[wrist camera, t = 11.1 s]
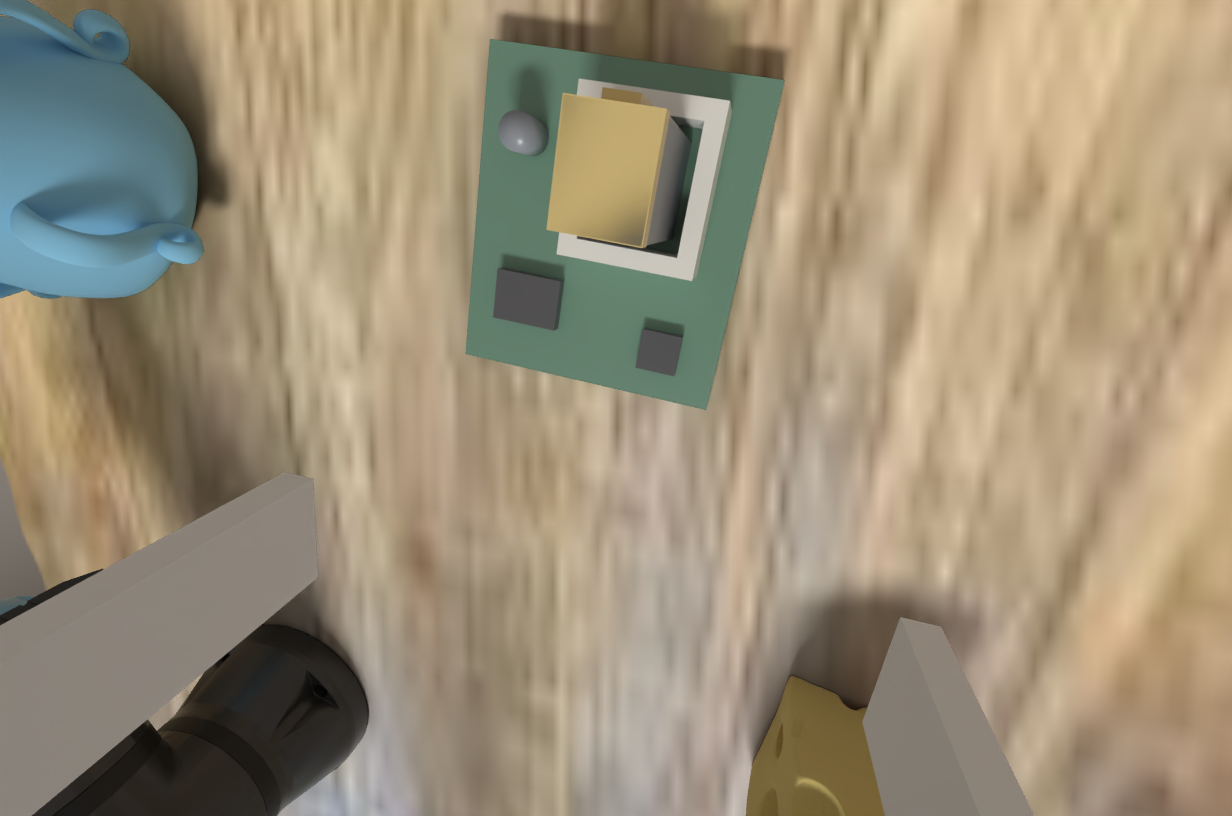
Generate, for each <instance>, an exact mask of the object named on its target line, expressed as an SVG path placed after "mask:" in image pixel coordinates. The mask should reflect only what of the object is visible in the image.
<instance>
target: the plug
mask: <svg viewBox="0 0 1232 816" xmlns="http://www.w3.org/2000/svg"><path fill="white" fill-rule="evenodd" d="M691 144H692V143H691V142H690V140H689V139H688V138H687V137H686V135H685V134H684V133H683V132H682V130H681V129H680V128H679V127H678V125H677V124H676V123H675V122H674V120H673V119H672V118H671V116H670V112H669V111H668V109H666V108H660V107H654V106H653V105H652V104H651V103H650V102H649V100H648V99H647V98H646V97H645V96H644V95H643V94H642V93H640V92H633V91H626V90H619V89H613V88H606V87H602V94H601V98H594V97H588V96H581V95H574V94H568V93H563V95H562V103H561V112H560V120H559V128H558V137H557V145H556V154H555V162H554V170H553V179H552V187H551V195H550V204H549V212H548V221H547V229H546V230H550V231H555V232H561V233H566V234H571V235H576V236H581V237H586V238H592V239H597V240H602V241H607V242H612V243H618V244H623V245H628V246H633V247H638V248H645V247H646V246H647V245H650V244H654V243H658V242H662V241H666V240H671V239H673V236H674V231H675V226H676V221H677V216H678V210H679V205H680V200H681V195H682V190H683V185H684V180H685V174H686V169H687V164H688V159H689V154H690V149H691Z"/></svg>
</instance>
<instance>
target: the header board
mask: <svg viewBox="0 0 1232 816" xmlns="http://www.w3.org/2000/svg"><path fill="white" fill-rule="evenodd" d="M784 81H785V80H780V79H772V78H765V77H758V76H751V75H744V74H737V73H730V72H722V71H715V70H708V69H701V68H694V67H687V66H679V65H672V64H665V63H658V62H651V61H644V60H637V59H629V58H622V57H615V56H608V55H601V54H594V53H587V52H579V51H572V50H565V49H558V48H551V47H544V46H537V45H529V44H522V43H515V42H508V41H501V40H494V39H490V46H489V59H488V72H487V85H486V98H485V111H484V124H483V137H482V149H481V162H480V175H479V188H478V201H477V214H476V227H475V240H474V253H473V265H472V278H471V291H470V304H469V317H468V330H467V343H466V354H468V355H472V356H477V357H481V358H485V359H490V360H494V361H498V362H502V363H507V364H511V365H515V366H520V367H524V368H528V369H533V370H537V371H541V372H545V373H550V374H554V375H558V376H563V377H567V378H571V379H575V380H580V381H584V382H588V383H593V384H597V385H601V386H605V387H610V388H614V389H618V390H623V391H627V392H631V393H635V394H640V395H644V396H648V397H653V398H657V399H661V400H666V401H670V402H674V403H678V404H683V405H687V406H691V407H696V408H700V409H704V410H706V408H707V404H708V400H709V396H710V392H711V387H712V383H713V379H714V375H715V371H716V366H717V362H718V358H719V354H720V350H721V345H722V341H723V337H724V333H725V329H726V324H727V320H728V316H729V312H730V308H731V303H732V299H733V295H734V291H735V287H736V282H737V278H738V274H739V270H740V266H741V261H742V257H743V253H744V249H745V245H746V240H747V236H748V232H749V228H750V224H751V219H752V215H753V211H754V207H755V203H756V198H757V194H758V190H759V186H760V182H761V177H762V173H763V169H764V165H765V161H766V156H767V152H768V148H769V144H770V140H771V135H772V131H773V127H774V123H775V119H776V114H777V110H778V106H779V102H780V98H781V93H782V89H783V85H784ZM602 87H606V88H613V89H619V90H626V91H633V92H640V93H642V94H643V95H644V96H645V97H646V98H647V99H648V100H649V102H650V103H651V104H652V105H653V106H654V107H660V108H666V109H668V111H669V112H670V116H671V118H672V119H673V120H674V122H675V123H676V124H677V125H678V127H679V128H680V129H681V130H682V132H683V133H684V134H685V135H686V137H687V138H688V139H689V140H690V142H691V143H692V144H691V149H690V154H689V159H688V164H687V169H686V174H685V180H684V185H683V190H682V195H681V200H680V205H679V210H678V216H677V221H676V226H675V231H674V236H673V239H671V240H666V241H662V242H658V243H654V244H650V245H647V246H646V247H645V248H638V247H633V246H628V245H623V244H618V243H612V242H607V241H602V240H597V239H592V238H586V237H581V236H576V235H571V234H566V233H561V232H555V231H550V230H546V229H547V221H548V212H549V204H550V195H551V187H552V179H553V170H554V162H555V154H556V145H557V137H558V128H559V120H560V112H561V103H562V95H563V93H568V94H574V95H581V96H588V97H594V98H601V94H602Z"/></svg>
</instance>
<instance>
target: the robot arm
mask: <svg viewBox="0 0 1232 816" xmlns="http://www.w3.org/2000/svg"><path fill="white" fill-rule="evenodd" d="M317 578H318V565H317V545H316V525H315V505H314V484H313V479H312V478H308V477H303V476H299V475H295V474H291V473H286V472H284V473H282V474H280V475H278V476H276V477H274V478H272V479H271V480H269V481H267V482H265V483H263V484H261V485H259V486H258V487H256V488H254V489H252V490H250V491H248V492H247V493H245V494H243V495H241V496H239V497H237V498H235V499H234V500H232V501H230V502H228V503H226V504H224V505H222V506H221V507H219V508H217V509H215V510H213V511H211V512H209V513H208V514H206V515H204V516H202V517H200V518H198V519H197V520H195V521H193V522H191V523H189V524H187V525H185V526H184V527H182V528H180V529H178V530H176V531H174V532H172V533H171V534H169V535H167V536H165V537H163V538H161V539H159V540H158V541H156V542H154V543H152V544H150V545H148V546H147V547H145V548H143V549H141V550H139V551H137V552H135V553H134V554H132V555H130V556H128V557H126V558H124V559H122V560H121V561H119V562H117V563H115V564H113V565H111V566H109V567H108V568H106V569H100V570H97V571H94V572H91V573H88V574H86V575H83V576H80V577H77V578H74V579H71V580H68V581H65V582H62V583H60V584H58V585H57V586H55V587H53V588H51V589H49V590H47V591H45V592H43V593H41V594H39V595H38V596H30V595H28V596H16V597H12V598H7V599H4V600H1V601H0V816H277V815H278V814H279V813H280V811H281V810H282V809H283V808H284V807H286V806H287V805H288V804H289V803H291V802H292V801H294V800H295V799H296V798H298V797H299V796H300V795H302V794H303V793H304V792H306V791H307V790H308V789H310V788H311V787H312V786H314V785H315V784H316V783H318V782H319V781H320V780H321V779H323V778H324V777H325V776H327V775H328V774H329V773H330V772H332V771H333V770H335V769H336V768H338V767H339V766H340V765H341V764H342V763H343V762H344V761H345V760H346V759H347V758H348V757H349V755H350V754H351V753H352V751H353V750H354V749H355V747H356V746H357V745H358V743H359V742H360V741H361V739H362V738H363V736H364V734H365V731H366V728H367V723H368V711H367V704H366V701H365V697H364V694H363V692H362V690H361V687H360V685H359V683H358V682H357V680H356V678H355V677H354V675H353V674H352V672H351V671H350V670H349V668H348V667H347V666H346V665H345V664H344V663H343V661H342V660H341V659H340V658H339V657H338V656H337V655H336V654H334V653H333V652H332V651H331V650H330V649H328V648H327V647H326V646H325V645H323V644H322V643H320V642H319V641H317V640H316V639H314V638H312V637H310V636H308V635H306V634H304V633H302V632H299V631H297V630H294V629H291V628H287V627H283V626H275V625H263V626H260V625H262V624H263V623H264V622H265V621H266V620H268V619H269V618H270V617H271V616H272V615H274V614H275V613H276V612H277V611H278V610H280V609H281V608H282V607H283V606H284V605H286V604H287V603H288V602H289V601H290V600H292V599H293V598H294V597H295V596H296V595H298V594H299V593H300V592H301V591H302V590H304V589H305V588H306V587H307V586H308V585H310V584H311V583H312V582H313V581H314V580H316V579H317ZM203 673H204V674H203ZM201 674H203V675H202V677H201V678H200V679H199V681H198V682H197V684H196V685H195V687H194V688H193V690H192V691H191V693H190V694H189V696H188V697H187V698H186V700H185V701H184V703H183V704H182V706H181V707H180V709H179V710H178V712H177V713H176V714H175V715H174V716H173V717H172V718H171V719H170V720H169V721H168V722H167V723H166V724H164V725H163V726H162V727H161V728H160V729H159V730H157V731H156V729H155V728H154V727H153V726H152V724H151V723H150V722H149V720H148V718H150V717H151V716H152V715H153V714H154V713H156V712H157V711H158V710H159V709H160V708H162V707H163V706H164V705H165V704H167V703H168V702H169V701H170V700H171V699H173V698H174V697H175V696H176V695H177V694H179V693H180V692H181V691H182V690H183V689H185V688H186V687H187V686H188V685H189V684H191V683H192V682H193V681H194V680H195V679H197V678H198V677H199V676H200V675H201ZM862 722H863V727H864V731H865V735H866V739H867V743H868V747H869V751H870V756H871V760H872V764H873V768H874V772H875V776H876V780H877V785H878V789H879V793H880V797H881V801H882V805H883V809H884V814H885V816H1034V814H1033V812H1032V810H1031V808H1030V806H1029V804H1028V801H1027V799H1026V797H1025V795H1024V793H1023V791H1022V789H1021V787H1020V785H1019V783H1018V781H1017V779H1016V777H1015V775H1014V773H1013V771H1012V769H1011V767H1010V765H1009V763H1008V761H1007V759H1006V757H1005V755H1004V753H1003V751H1002V749H1001V747H1000V745H999V743H998V741H997V739H996V737H995V735H994V733H993V731H992V729H991V727H990V725H989V723H988V721H987V719H986V717H985V715H984V712H983V710H982V708H981V706H980V704H979V702H978V700H977V698H976V696H975V694H974V692H973V690H972V688H971V686H970V684H969V682H968V680H967V678H966V676H965V674H964V672H963V670H962V668H961V666H960V664H959V662H958V660H957V658H956V656H955V654H954V652H953V650H952V648H951V646H950V644H949V642H948V640H947V638H946V636H945V634H944V632H943V630H942V628H941V627H940V626H936V625H932V624H928V623H923V622H919V621H915V620H911V619H906V618H902V617H900V619H899V622H898V625H897V627H896V630H895V633H894V636H893V638H892V641H891V644H890V647H889V650H888V652H887V655H886V658H885V661H884V663H883V666H882V669H881V672H880V674H879V677H878V680H877V683H876V685H875V688H874V691H873V694H872V696H871V699H870V702H869V705H868V707H867V710H866V713H865V716H864V718H863V721H862Z"/></svg>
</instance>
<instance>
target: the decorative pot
mask: <svg viewBox="0 0 1232 816" xmlns="http://www.w3.org/2000/svg"><path fill="white" fill-rule="evenodd" d="M0 14H3V15H7V16H11V17H4V16H0V298H3V297H6V296H9V295H12V294H15V293H18V292H21V291H24V290H27V291H29V292H30V293H31V294H33V295H35V296H38V297H41V298H47V299H54V298H59V297H62V296H66V297H81V298H117V297H126V296H131V295H135V294H137V293H139V292H141V291H143V290H145V289H147V288H149V287H150V286H151V285H152V284H153V283H155V282H156V281H157V280H158V279H159V278H160V277H161V276H162V275H163V274H164V273H165V272H166V271H167V270H168V268H169V267H170V266H171V264H172V263H173V262H177V263H181V264H192V263H195V262H196V261H198V260H199V259H200V257H201V256H202V254H203V252H204V247H203V243H202V241H201V239H200V237H199V236H198V235H197V233H196V232H194V231H193V230H192V229H191V228H192V224H193V220H194V216H195V210H196V203H197V190H198V170H197V164H198V162H197V157H196V154H195V149H194V145H193V142H192V140H191V137H190V134H189V132H188V130H187V129H186V127H185V125H184V123H183V122H182V121H181V119H180V118H179V116H178V115H177V114H176V113H175V112H174V111H173V110H172V109H171V108H170V106H169V105H168V104H167V103H166V102H165V101H164V100H163V99H162V98H161V97H160V96H159V95H158V94H157V93H156V92H155V91H154V90H153V89H151V88H150V87H149V86H148V85H147V84H146V83H145V82H144V81H142V80H141V79H140V78H139V77H138V76H137V75H136V74H135V73H133V72H132V71H131V70H130V69H129V68H127V67H126V66H125V65H124V64H122V63H123V62H124V61H126V59H127V58H128V56H129V52H130V44H129V39H128V36H127V34H126V32H125V30H124V28H123V27H122V26H121V25H120V24H119V22H118V21H117V20H115V19H114V18H113V17H111V16H109V15H108V14H106V13H103V12H101V11H98V10H84V11H81V12H80V13H79V14H78V15H76V17H75V19H74V30H72V29H70V28H69V27H67V26H66V25H64V24H63V23H62V22H60V21H59V20H57V19H56V18H54V17H53V16H51V15H50V14H48V13H47V12H45V11H43V10H42V9H40V8H39V7H37V6H35V5H34V4H32V3H30V2H29V1H27V0H0ZM12 17H14V18H12ZM100 32H101V34H100V36H99V37H98V38H96V39H94V38H95V36H96V35H97V34H98V33H100Z"/></svg>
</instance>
